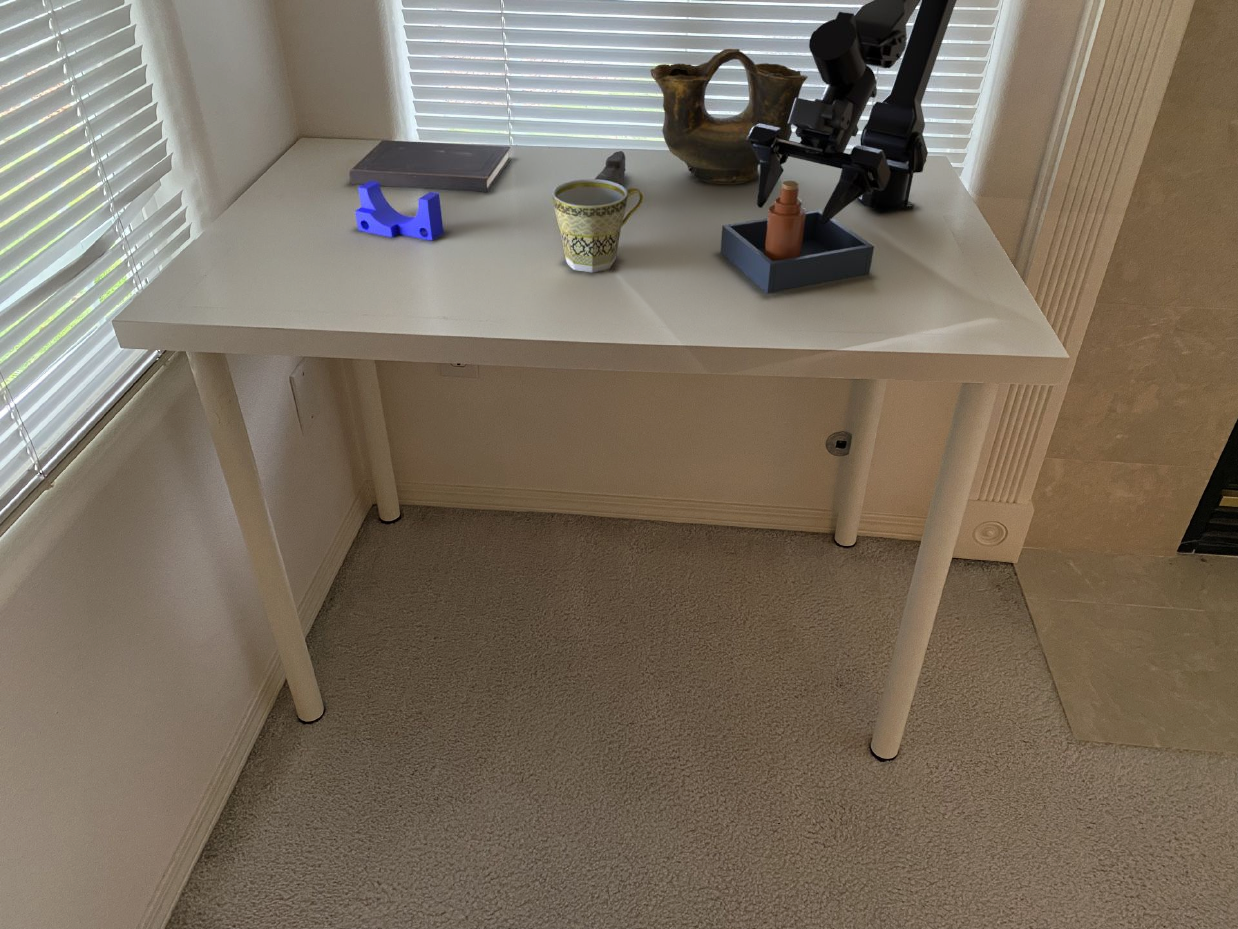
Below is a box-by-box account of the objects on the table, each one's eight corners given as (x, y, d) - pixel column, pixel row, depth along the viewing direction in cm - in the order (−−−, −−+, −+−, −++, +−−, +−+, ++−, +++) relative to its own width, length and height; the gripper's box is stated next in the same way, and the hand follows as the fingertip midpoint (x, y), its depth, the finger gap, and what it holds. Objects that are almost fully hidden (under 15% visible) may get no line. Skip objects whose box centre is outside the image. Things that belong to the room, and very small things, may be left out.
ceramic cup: (573, 283, 124) (571, 211, 118) (543, 255, 132) (540, 186, 126) (658, 264, 129) (661, 194, 123) (625, 238, 136) (625, 170, 130)
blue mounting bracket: (358, 230, 139) (351, 190, 135) (376, 219, 142) (370, 180, 138) (426, 244, 135) (421, 204, 131) (443, 233, 138) (439, 193, 134)
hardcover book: (384, 153, 166) (382, 139, 164) (510, 159, 163) (509, 146, 162) (350, 185, 153) (348, 171, 152) (487, 193, 151) (486, 179, 149)
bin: (816, 239, 136) (820, 209, 134) (868, 277, 126) (874, 246, 124) (720, 255, 132) (722, 225, 129) (766, 296, 122) (770, 264, 119)
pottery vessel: (653, 189, 152) (656, 60, 140) (644, 166, 161) (647, 42, 149) (803, 183, 154) (819, 56, 142) (787, 161, 163) (800, 39, 151)
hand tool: (599, 218, 142) (599, 189, 140) (574, 215, 143) (574, 185, 141) (638, 177, 157) (639, 149, 154) (616, 174, 158) (616, 146, 155)
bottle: (786, 264, 128) (797, 174, 121) (804, 278, 125) (816, 187, 117) (755, 270, 127) (764, 179, 119) (773, 284, 123) (783, 192, 116)
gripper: (760, 58, 119) (708, 167, 119) (897, 83, 110) (841, 201, 110) (784, 108, 129) (735, 209, 129) (912, 134, 120) (860, 243, 120)
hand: (789, 214), depth 121 cm, fingers open, 9 cm apart
